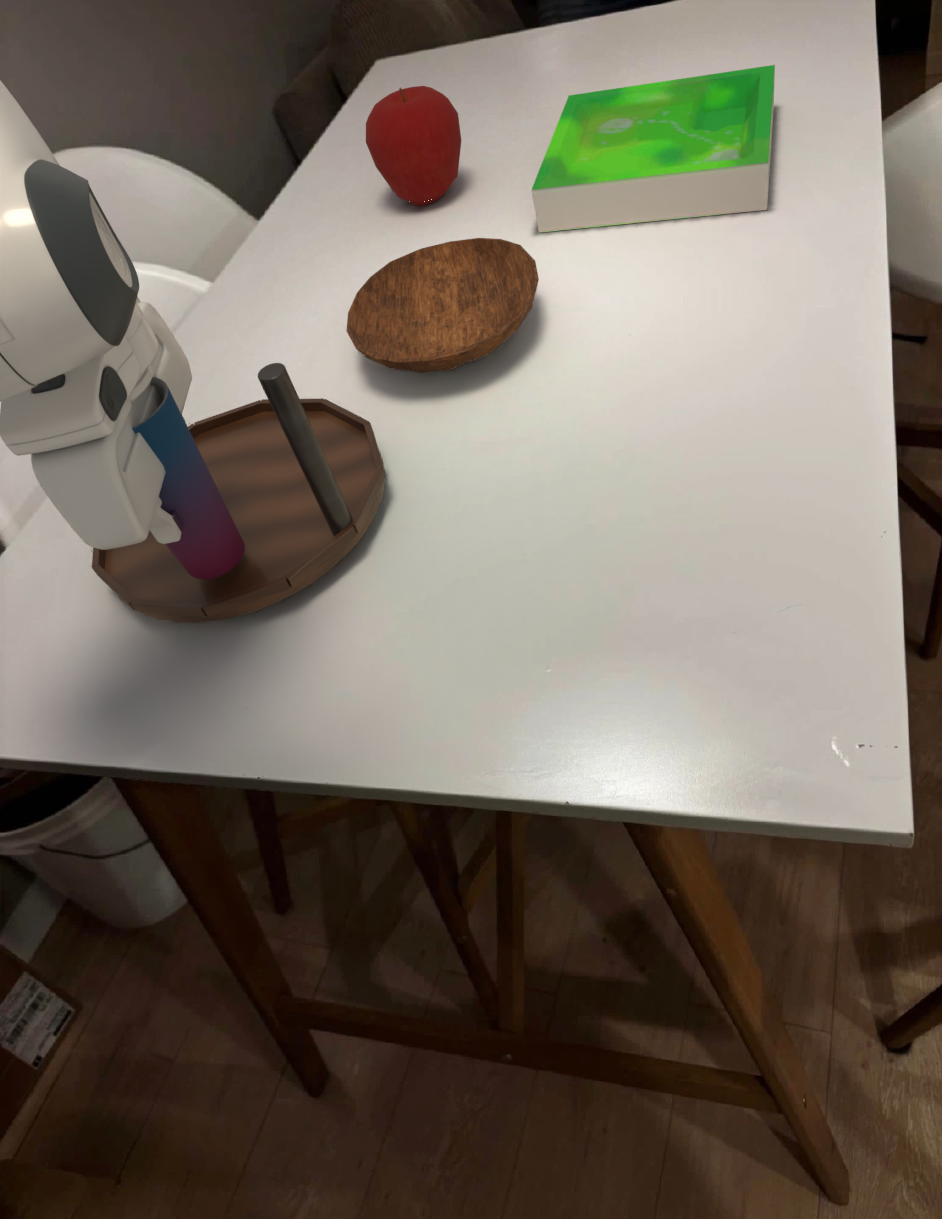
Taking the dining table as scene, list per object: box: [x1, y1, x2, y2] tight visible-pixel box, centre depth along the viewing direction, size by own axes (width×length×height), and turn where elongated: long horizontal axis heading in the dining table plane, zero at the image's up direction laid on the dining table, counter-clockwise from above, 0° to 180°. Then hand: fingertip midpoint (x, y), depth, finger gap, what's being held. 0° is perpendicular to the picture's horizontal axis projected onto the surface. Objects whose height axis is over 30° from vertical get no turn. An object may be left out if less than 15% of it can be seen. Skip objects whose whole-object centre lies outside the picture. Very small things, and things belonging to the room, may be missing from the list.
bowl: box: [345, 237, 540, 374], centre depth 90 cm, size 20×22×5 cm
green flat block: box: [531, 64, 776, 234], centre depth 104 cm, size 25×25×5 cm
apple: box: [365, 85, 462, 207], centre depth 110 cm, size 12×12×13 cm
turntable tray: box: [91, 362, 387, 624], centre depth 73 cm, size 26×26×16 cm
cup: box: [132, 377, 245, 580], centre depth 66 cm, size 7×7×15 cm
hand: (181, 503), depth 67 cm, fingers closed on cup, 6 cm apart
